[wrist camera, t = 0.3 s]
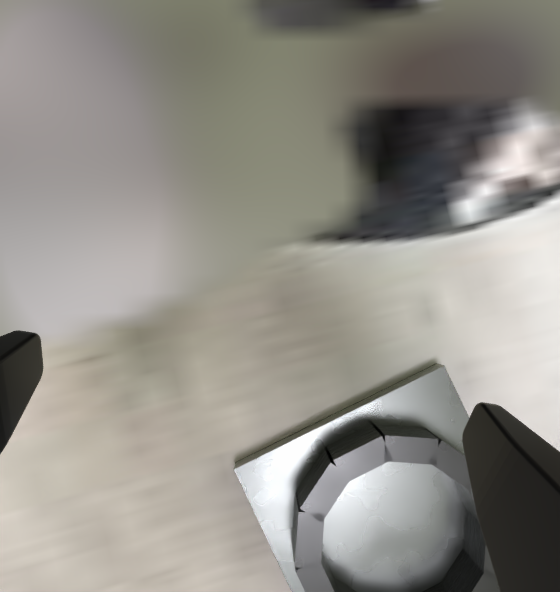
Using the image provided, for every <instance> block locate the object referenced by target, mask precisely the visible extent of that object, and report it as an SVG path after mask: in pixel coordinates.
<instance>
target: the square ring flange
mask: <svg viewBox="0 0 560 592" xmlns="http://www.w3.org/2000/svg"><path fill="white" fill-rule="evenodd" d="M468 420H469V416H468V414H467V412H466V410H465V408H464V406H463V404H462V402H461V400H460V398H459V396H458V394H457V391H456V389H455V387H454V385H453V383H452V381H451V379H450V377H449V375H448V373H447V371H446V368H445V366H443V365H440V364H435V365H433V366H431V367H429V368H427V369H425V370H422V371H420V372H418V373H416V374H414V375H412V376H410V377H408V378H406V379H404V380H402V381H400V382H398V383H396V384H394V385H392V386H390V387H388V388H386V389H384V390H382V391H380V392H378V393H376V394H374V395H372V396H370V397H368V398H366V399H364V400H362V401H360V402H358V403H356V404H353V405H351V406H349V407H347V408H345V409H343V410H341V411H339V412H337V413H335V414H333V415H331V416H329V417H327V418H325V419H323V420H321V421H319V422H317V423H315V424H313V425H311V426H309V427H307V428H305V429H303V430H301V431H299V432H297V433H295V434H293V435H291V436H289V437H287V438H284V439H282V440H280V441H278V442H276V443H274V444H272V445H270V446H268V447H266V448H264V449H262V450H260V451H258V452H256V453H254V454H252V455H250V456H248V457H246V458H244V459H242V460H240V461H238V462H236V463H235V466H234V471H235V473H236V475H237V477H238V480H239V482H240V484H241V486H242V488H243V490H244V492H245V494H246V496H247V498H248V501H249V503H250V505H251V507H252V509H253V511H254V513H255V515H256V517H257V520H258V522H259V524H260V526H261V528H262V530H263V532H264V534H265V536H266V539H267V541H268V543H269V545H270V547H271V549H272V551H273V553H274V555H275V558H276V560H277V562H278V564H279V566H280V568H281V570H282V572H283V574H284V576H285V579H286V581H287V583H288V585H289V587H290V589H291V591H292V592H500V589H499V586H498V582H497V579H496V576H495V573H494V569H493V566H492V563H491V560H490V556H489V553H488V550H487V546H486V543H485V540H484V537H483V533H482V530H481V527H480V524H479V520H478V516H477V513H476V509H475V505H474V500H473V495H472V490H471V485H470V480H469V474H468V469H467V464H466V459H465V454H464V448H463V443H462V434H463V431H464V428H465V426H466V424H467V422H468Z"/></svg>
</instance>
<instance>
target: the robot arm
mask: <svg viewBox="0 0 560 592" xmlns="http://www.w3.org/2000/svg"><path fill="white" fill-rule="evenodd" d="M42 373H43V358H42V347H41V339H40V337H39V335H38V334H36V333H32V332H25V331H13V332H11V333H8V334H6V335H3V336H0V454H1V452H2V451H3V449H4V448H5V446H6V445H7V443H8V441H9V439H10V437H11V435H12V434H13V432H14V430H15V428H16V426H17V424H18V422H19V420H20V418H21V416H22V414H23V412H24V410H25V408H26V406H27V404H28V403H29V401H30V399H31V397H32V395H33V393H34V391H35V389H36V387H37V385H38V383H39V381H40V379H41V377H42ZM462 443H463V448H464V454H465V459H466V464H467V469H468V474H469V480H470V485H471V490H472V495H473V500H474V505H475V509H476V513H477V516H478V520H479V524H480V527H481V530H482V533H483V537H484V540H485V543H486V546H487V550H488V553H489V556H490V560H491V563H492V566H493V569H494V573H495V576H496V579H497V582H498V586H499V589H500V592H560V452H559V451H558V450H557V449H555V448H554V447H553V446H551V445H550V444H549V443H547V442H546V441H545V440H544V439H542V438H541V437H540V436H538V435H537V434H536V433H535V432H533V431H532V430H531V429H529V428H528V427H527V426H526V425H524V424H523V423H522V422H520V421H519V420H518V419H516V418H515V417H514V416H513V415H511V414H510V413H509V412H507V411H506V410H505V409H504V408H502V407H501V406H499V405H496V404H489V403H483V402H481V403H478V404H477V405H476V406H475V408H474V410H473V412H472V414H471V416H470V418H469V420H468V422H467V424H466V426H465V428H464V431H463V434H462Z"/></svg>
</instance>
